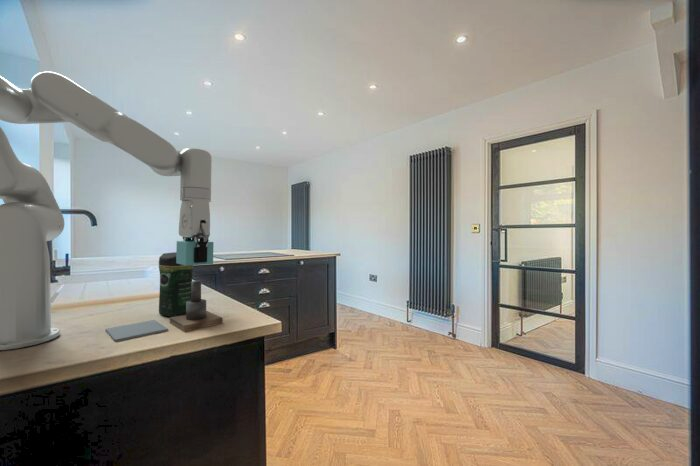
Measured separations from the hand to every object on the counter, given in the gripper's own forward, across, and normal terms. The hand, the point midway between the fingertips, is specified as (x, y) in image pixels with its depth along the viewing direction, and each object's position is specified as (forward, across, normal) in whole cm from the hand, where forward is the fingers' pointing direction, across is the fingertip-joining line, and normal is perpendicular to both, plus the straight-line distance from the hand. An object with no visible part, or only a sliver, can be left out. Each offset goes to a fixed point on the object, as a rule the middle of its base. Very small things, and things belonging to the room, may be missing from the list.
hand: (194, 260), depth 87 cm
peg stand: (+17, 0, +1) cm, 17 cm away
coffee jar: (+17, -14, 0) cm, 22 cm away
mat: (+17, -4, -12) cm, 22 cm away
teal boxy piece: (+1, 0, 0) cm, 1 cm away
